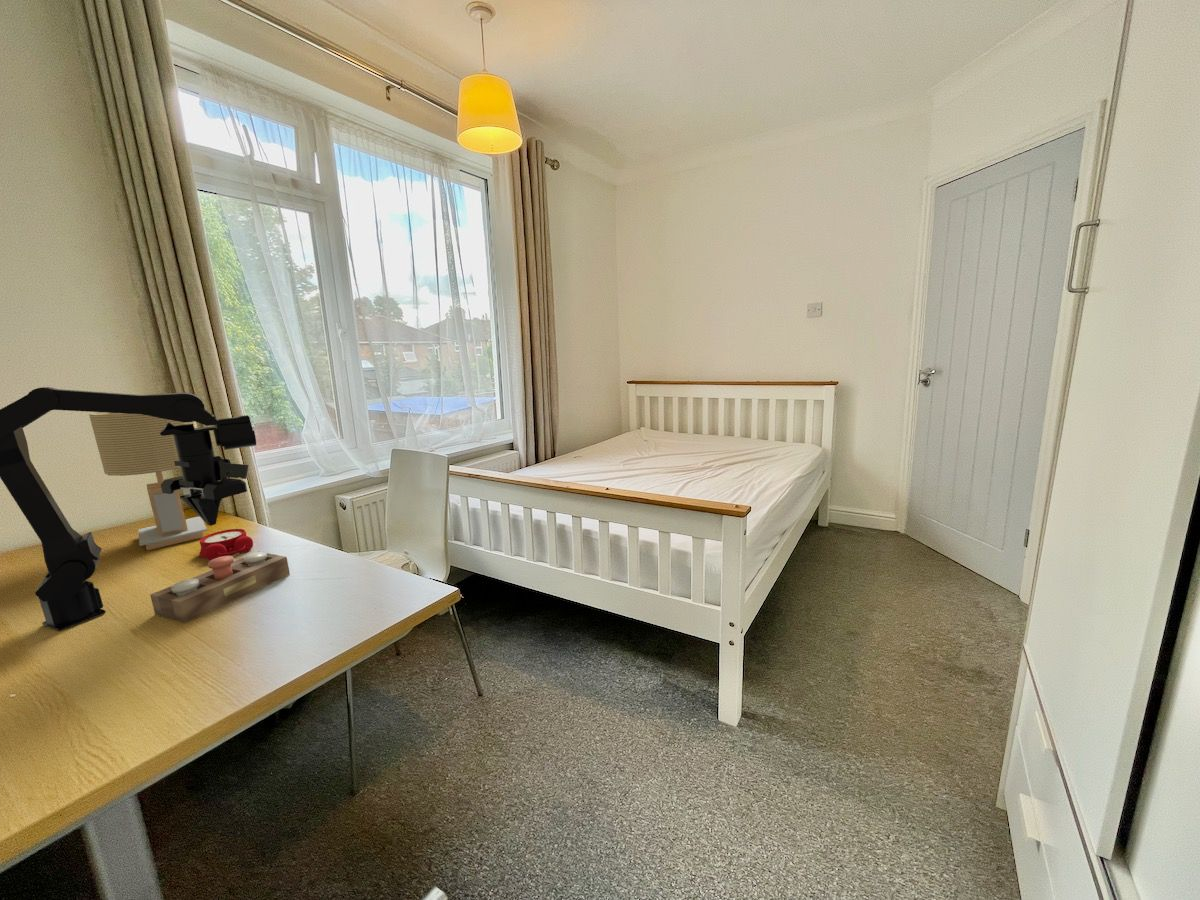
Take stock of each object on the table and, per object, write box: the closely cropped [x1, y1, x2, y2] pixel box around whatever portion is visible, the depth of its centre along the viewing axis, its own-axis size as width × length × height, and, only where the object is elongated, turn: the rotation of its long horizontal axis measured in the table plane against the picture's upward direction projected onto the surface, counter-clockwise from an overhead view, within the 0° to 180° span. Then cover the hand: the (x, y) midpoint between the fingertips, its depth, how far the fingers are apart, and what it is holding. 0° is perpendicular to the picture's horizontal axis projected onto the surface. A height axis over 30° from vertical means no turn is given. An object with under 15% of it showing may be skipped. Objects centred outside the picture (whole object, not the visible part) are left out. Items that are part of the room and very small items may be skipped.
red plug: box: [207, 555, 235, 581], centre depth 96 cm, size 4×4×5 cm
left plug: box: [171, 578, 200, 597], centre depth 91 cm, size 4×4×5 cm
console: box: [149, 552, 291, 624], centre depth 97 cm, size 20×9×4 cm, turn 158°
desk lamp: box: [88, 412, 208, 551], centre depth 126 cm, size 20×20×35 cm
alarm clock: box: [198, 528, 254, 561], centre depth 118 cm, size 10×6×15 cm
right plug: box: [243, 551, 268, 566], centre depth 102 cm, size 4×4×5 cm
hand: (212, 524), depth 101 cm, fingers closed
